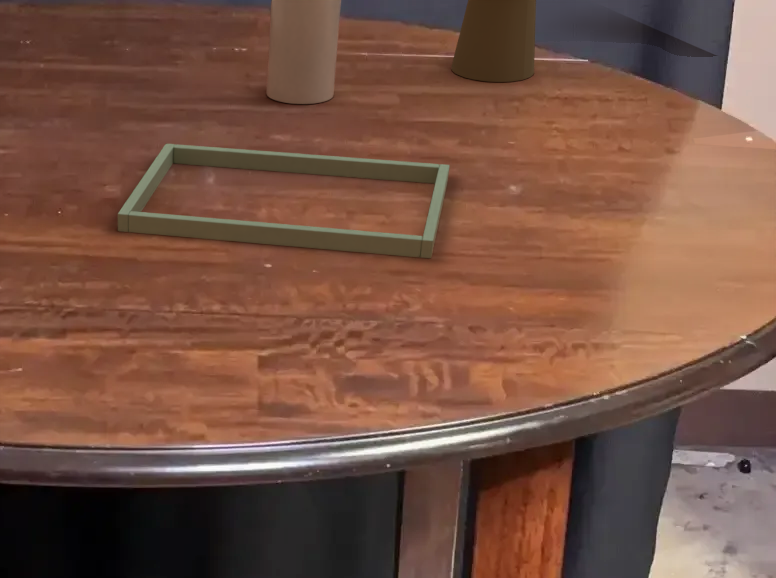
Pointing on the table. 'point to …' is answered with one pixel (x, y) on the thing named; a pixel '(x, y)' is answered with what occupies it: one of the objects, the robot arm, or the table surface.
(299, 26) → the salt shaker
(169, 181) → the table surface
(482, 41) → the cork
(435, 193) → the sage frame
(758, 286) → the table surface
